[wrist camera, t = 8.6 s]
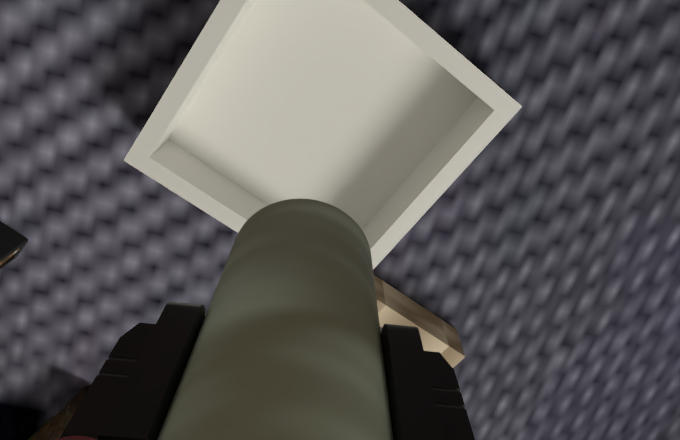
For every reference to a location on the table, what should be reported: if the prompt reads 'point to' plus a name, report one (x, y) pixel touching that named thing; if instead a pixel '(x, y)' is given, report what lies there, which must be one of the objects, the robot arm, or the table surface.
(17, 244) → the ammunition clip
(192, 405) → the dowel
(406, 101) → the tray
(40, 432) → the hand tool
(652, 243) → the table surface
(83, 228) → the table surface
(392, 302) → the holder
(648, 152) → the table surface
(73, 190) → the table surface
